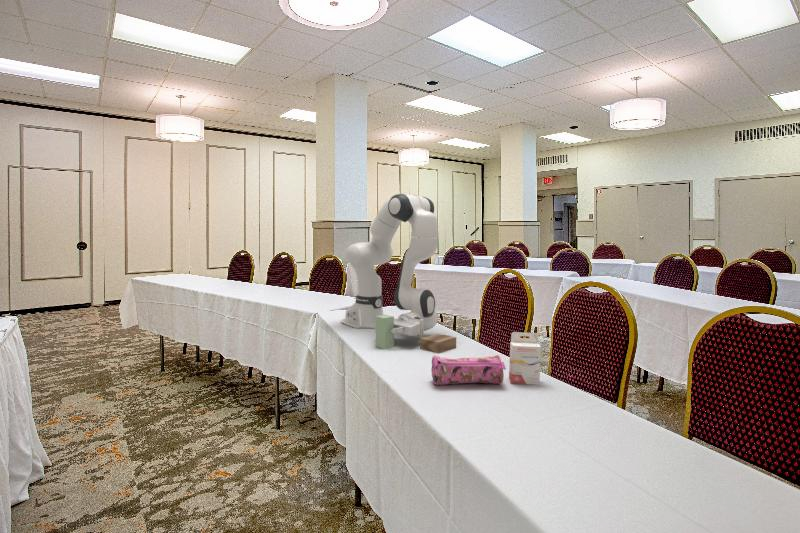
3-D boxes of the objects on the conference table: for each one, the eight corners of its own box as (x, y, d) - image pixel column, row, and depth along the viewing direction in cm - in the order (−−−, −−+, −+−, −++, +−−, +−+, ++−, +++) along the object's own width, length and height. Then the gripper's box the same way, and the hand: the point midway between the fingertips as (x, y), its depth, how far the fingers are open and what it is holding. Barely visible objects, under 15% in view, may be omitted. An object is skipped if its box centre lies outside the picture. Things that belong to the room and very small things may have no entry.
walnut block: (419, 348, 181) (419, 338, 180) (437, 343, 189) (437, 333, 188) (438, 353, 174) (438, 342, 174) (456, 347, 182) (456, 337, 182)
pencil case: (433, 389, 137) (433, 359, 136) (430, 379, 146) (430, 351, 145) (506, 389, 137) (507, 359, 136) (499, 378, 146) (499, 350, 146)
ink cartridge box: (510, 383, 141) (512, 335, 140) (508, 378, 146) (510, 331, 145) (540, 384, 141) (541, 336, 139) (537, 379, 146) (538, 332, 144)
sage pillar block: (375, 346, 183) (375, 316, 182) (384, 344, 187) (384, 314, 185) (384, 349, 180) (384, 318, 178) (393, 346, 183) (393, 316, 182)
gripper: (389, 312, 199) (364, 317, 189) (426, 319, 185) (402, 325, 175) (389, 327, 199) (364, 333, 189) (426, 335, 185) (402, 342, 175)
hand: (383, 329), depth 182 cm, fingers open, 8 cm apart
